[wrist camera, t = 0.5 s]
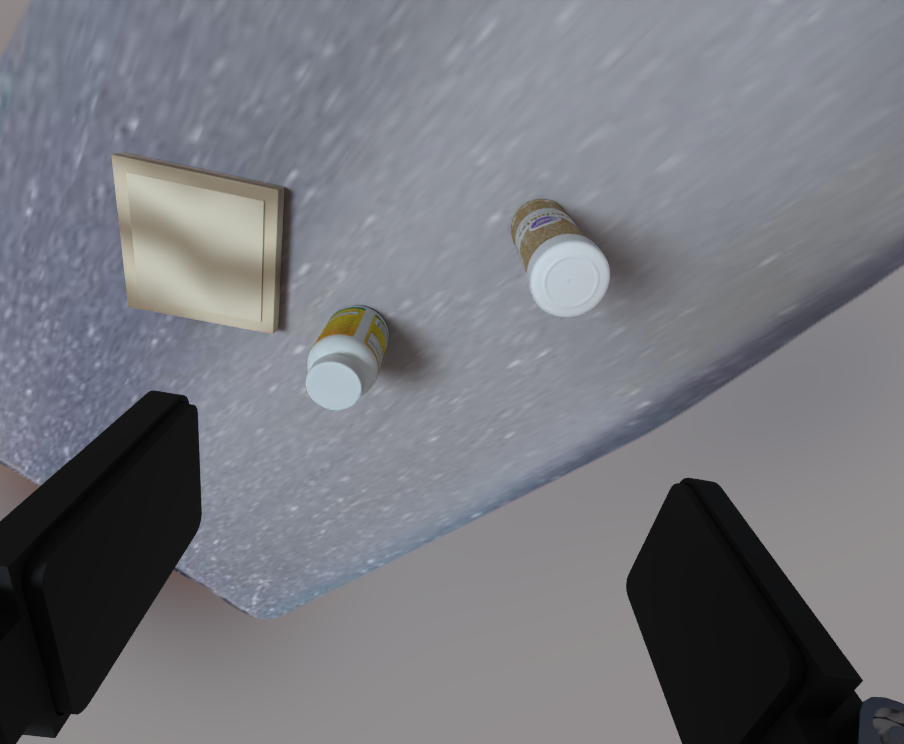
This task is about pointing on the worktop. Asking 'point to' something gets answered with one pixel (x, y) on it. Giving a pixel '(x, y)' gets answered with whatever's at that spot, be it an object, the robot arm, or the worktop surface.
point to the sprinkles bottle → (559, 260)
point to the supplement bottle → (346, 357)
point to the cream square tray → (200, 242)
